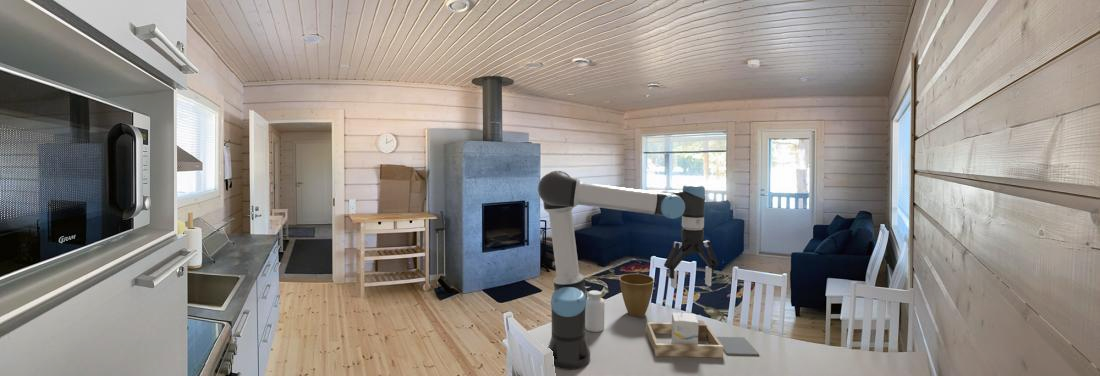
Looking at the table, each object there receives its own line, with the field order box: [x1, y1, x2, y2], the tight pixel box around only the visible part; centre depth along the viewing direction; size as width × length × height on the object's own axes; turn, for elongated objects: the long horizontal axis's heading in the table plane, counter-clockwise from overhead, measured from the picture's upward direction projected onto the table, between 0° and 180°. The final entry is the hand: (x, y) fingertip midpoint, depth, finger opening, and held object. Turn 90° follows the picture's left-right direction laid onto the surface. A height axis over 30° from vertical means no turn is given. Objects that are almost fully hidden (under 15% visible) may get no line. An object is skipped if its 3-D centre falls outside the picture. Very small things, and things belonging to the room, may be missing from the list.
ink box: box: [671, 311, 699, 344], centre depth 148 cm, size 9×8×12 cm
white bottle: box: [585, 289, 605, 333], centre depth 165 cm, size 8×8×15 cm
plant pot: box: [619, 273, 655, 318], centre depth 179 cm, size 15×15×16 cm
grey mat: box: [716, 336, 760, 357], centre depth 149 cm, size 11×13×1 cm
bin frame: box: [646, 321, 724, 359], centre depth 151 cm, size 23×19×4 cm
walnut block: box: [698, 320, 708, 342], centre depth 156 cm, size 4×4×6 cm
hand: (690, 286), depth 147 cm, fingers open, 13 cm apart
